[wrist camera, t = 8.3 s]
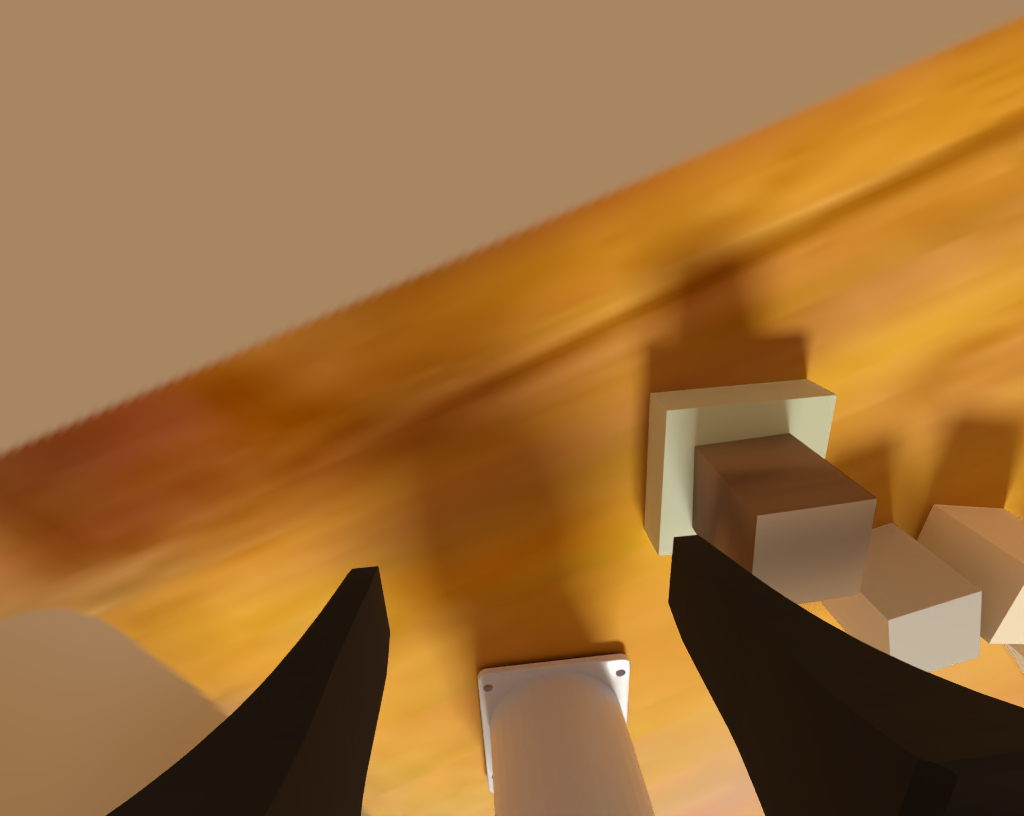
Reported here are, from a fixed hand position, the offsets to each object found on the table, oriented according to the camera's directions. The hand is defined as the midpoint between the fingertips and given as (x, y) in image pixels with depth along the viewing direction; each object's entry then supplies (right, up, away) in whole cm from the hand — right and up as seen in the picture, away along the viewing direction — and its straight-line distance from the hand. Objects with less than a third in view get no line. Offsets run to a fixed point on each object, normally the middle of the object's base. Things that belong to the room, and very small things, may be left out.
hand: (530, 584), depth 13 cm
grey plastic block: (+17, -4, +15) cm, 23 cm away
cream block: (+22, -3, +15) cm, 27 cm away
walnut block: (+9, +1, +10) cm, 13 cm away
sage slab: (+9, +2, +12) cm, 15 cm away
